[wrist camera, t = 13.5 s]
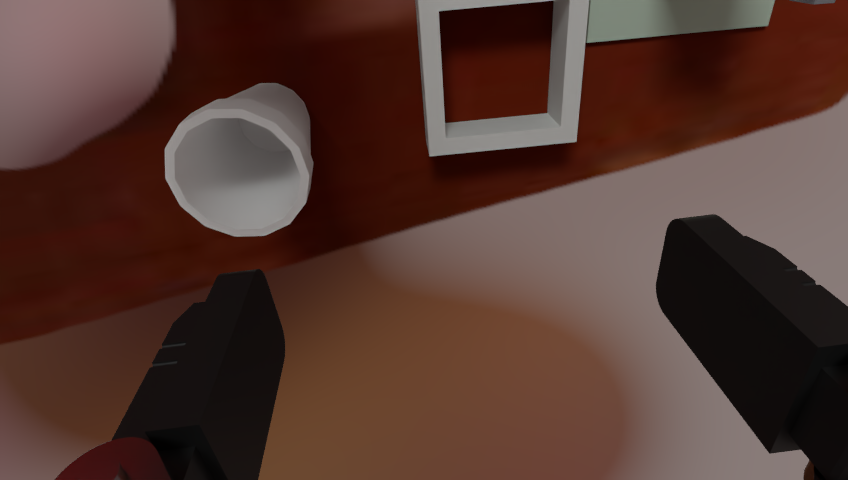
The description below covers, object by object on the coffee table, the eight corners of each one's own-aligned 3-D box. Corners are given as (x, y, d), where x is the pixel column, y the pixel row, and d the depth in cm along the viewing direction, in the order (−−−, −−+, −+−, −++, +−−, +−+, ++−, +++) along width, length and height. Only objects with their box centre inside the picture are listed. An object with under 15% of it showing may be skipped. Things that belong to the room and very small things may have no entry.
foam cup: (222, 52, 41) (163, 92, 30) (333, 76, 43) (316, 124, 32) (218, 156, 46) (166, 225, 35) (319, 175, 47) (300, 246, 36)
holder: (414, -14, 40) (417, -10, 36) (573, -29, 40) (591, -26, 36) (426, 140, 46) (429, 156, 43) (562, 127, 47) (576, 141, 43)
